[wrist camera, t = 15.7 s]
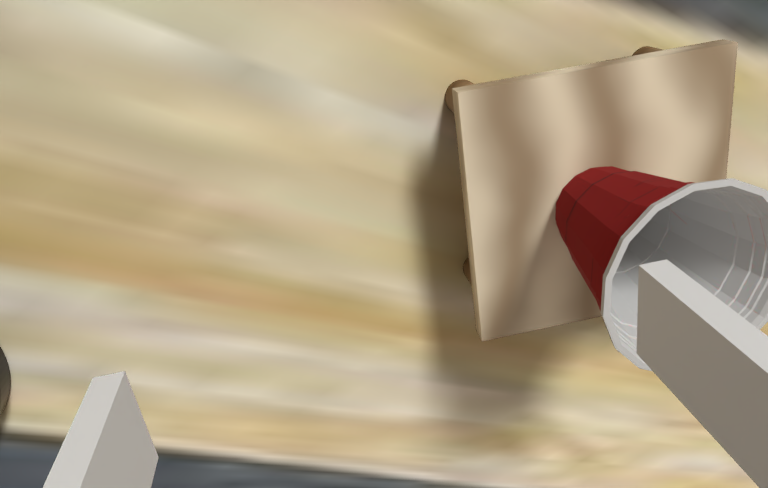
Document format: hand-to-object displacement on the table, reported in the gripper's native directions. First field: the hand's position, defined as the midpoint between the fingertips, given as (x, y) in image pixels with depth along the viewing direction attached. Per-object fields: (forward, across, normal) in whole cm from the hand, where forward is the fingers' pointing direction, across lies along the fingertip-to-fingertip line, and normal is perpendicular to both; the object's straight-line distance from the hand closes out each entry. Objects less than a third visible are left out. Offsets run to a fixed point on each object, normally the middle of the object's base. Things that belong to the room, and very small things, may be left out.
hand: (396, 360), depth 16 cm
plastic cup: (+24, +17, -8) cm, 31 cm away
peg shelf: (+32, +17, -8) cm, 37 cm away
